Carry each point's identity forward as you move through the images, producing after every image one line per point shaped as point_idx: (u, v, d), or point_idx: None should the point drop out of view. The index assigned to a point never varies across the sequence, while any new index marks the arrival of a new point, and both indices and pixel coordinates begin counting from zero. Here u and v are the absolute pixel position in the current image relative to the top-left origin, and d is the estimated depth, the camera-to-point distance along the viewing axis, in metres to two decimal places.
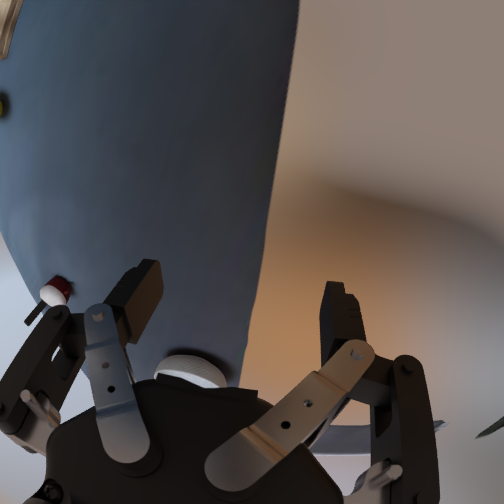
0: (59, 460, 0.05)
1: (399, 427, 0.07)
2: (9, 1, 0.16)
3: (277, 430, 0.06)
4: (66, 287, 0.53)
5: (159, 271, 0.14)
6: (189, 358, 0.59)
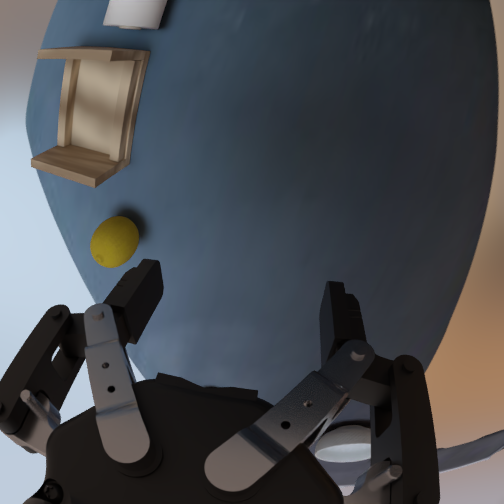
0: (59, 460, 0.05)
1: (399, 427, 0.07)
2: (125, 83, 0.24)
3: (277, 430, 0.06)
4: None
5: (159, 271, 0.14)
6: (353, 430, 0.55)
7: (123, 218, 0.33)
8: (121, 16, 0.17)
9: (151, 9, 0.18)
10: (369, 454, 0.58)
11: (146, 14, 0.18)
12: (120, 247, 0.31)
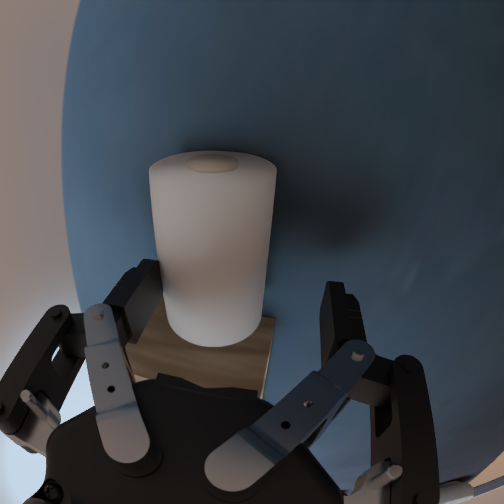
0: (59, 460, 0.05)
1: (399, 427, 0.07)
2: None
3: (277, 430, 0.06)
4: None
5: (159, 271, 0.14)
6: (450, 489, 0.41)
7: None
8: (169, 317, 0.15)
9: (207, 323, 0.14)
10: (461, 499, 0.42)
11: (201, 330, 0.14)
12: None
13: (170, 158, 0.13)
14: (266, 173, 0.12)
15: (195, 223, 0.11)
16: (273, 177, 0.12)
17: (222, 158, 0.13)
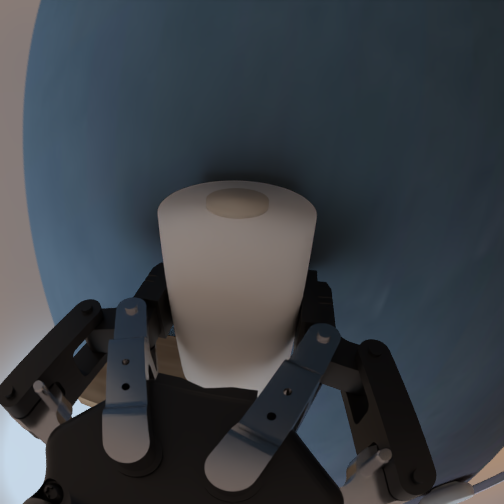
0: (56, 456, 0.05)
1: (378, 412, 0.07)
2: None
3: (264, 423, 0.06)
4: None
5: None
6: (449, 490, 0.41)
7: None
8: None
9: None
10: (462, 498, 0.42)
11: None
12: None
13: (169, 215, 0.10)
14: (291, 195, 0.12)
15: (294, 274, 0.10)
16: None
17: (238, 193, 0.11)
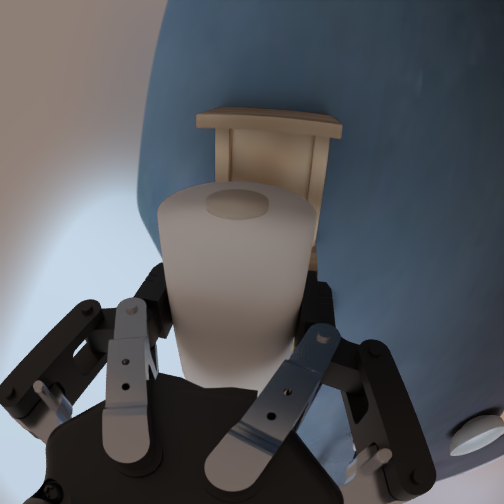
0: (56, 456, 0.05)
1: (378, 412, 0.07)
2: (321, 157, 0.24)
3: (264, 423, 0.06)
4: None
5: None
6: (482, 420, 0.45)
7: None
8: None
9: None
10: (492, 437, 0.46)
11: None
12: None
13: (169, 216, 0.10)
14: (291, 196, 0.12)
15: (294, 275, 0.10)
16: None
17: (238, 194, 0.11)
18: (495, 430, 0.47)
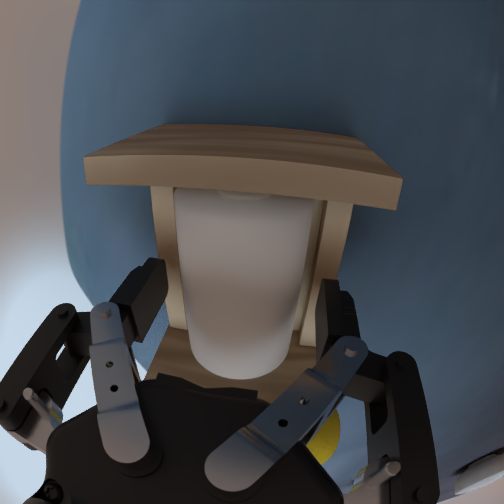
0: (58, 459, 0.05)
1: (395, 424, 0.07)
2: (339, 219, 0.13)
3: (275, 428, 0.06)
4: None
5: (164, 270, 0.14)
6: (491, 462, 0.35)
7: None
8: (234, 369, 0.13)
9: (283, 342, 0.14)
10: (499, 474, 0.36)
11: (277, 354, 0.14)
12: (333, 445, 0.19)
13: (184, 198, 0.11)
14: None
15: (294, 250, 0.11)
16: None
17: None
18: None
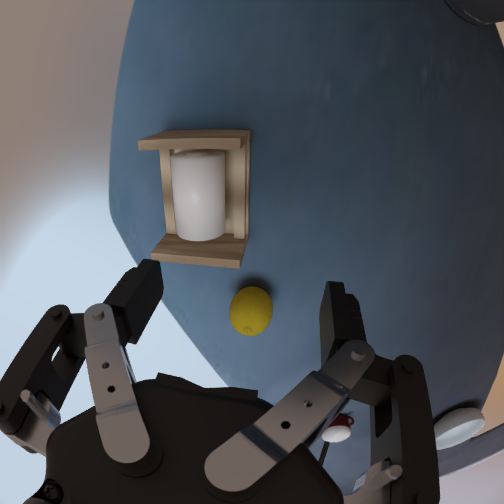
0: (59, 460, 0.05)
1: (399, 427, 0.07)
2: (240, 165, 0.30)
3: (277, 430, 0.06)
4: (346, 419, 0.54)
5: (159, 271, 0.14)
6: (458, 413, 0.50)
7: (254, 288, 0.38)
8: (195, 234, 0.30)
9: (217, 221, 0.31)
10: (473, 431, 0.51)
11: (215, 227, 0.31)
12: (265, 314, 0.35)
13: (174, 156, 0.28)
14: (218, 151, 0.30)
15: (214, 172, 0.28)
16: (222, 152, 0.30)
17: (198, 150, 0.29)
18: (476, 424, 0.51)
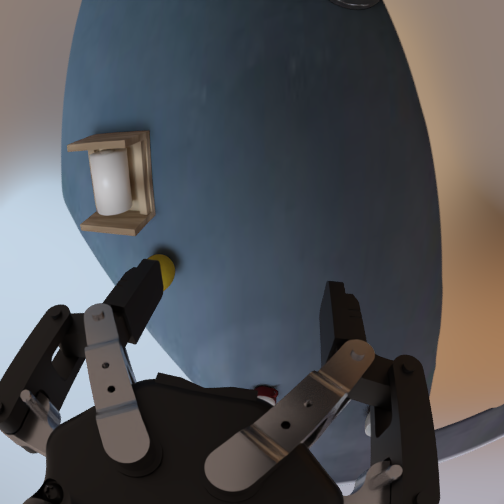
0: (59, 460, 0.05)
1: (399, 427, 0.07)
2: (138, 158, 0.38)
3: (277, 430, 0.06)
4: (272, 391, 0.63)
5: (159, 271, 0.14)
6: None
7: (160, 255, 0.46)
8: (105, 210, 0.38)
9: (121, 200, 0.38)
10: None
11: (119, 205, 0.38)
12: (162, 275, 0.43)
13: (91, 154, 0.35)
14: (124, 148, 0.37)
15: (114, 164, 0.35)
16: (126, 149, 0.37)
17: (109, 149, 0.36)
18: None
